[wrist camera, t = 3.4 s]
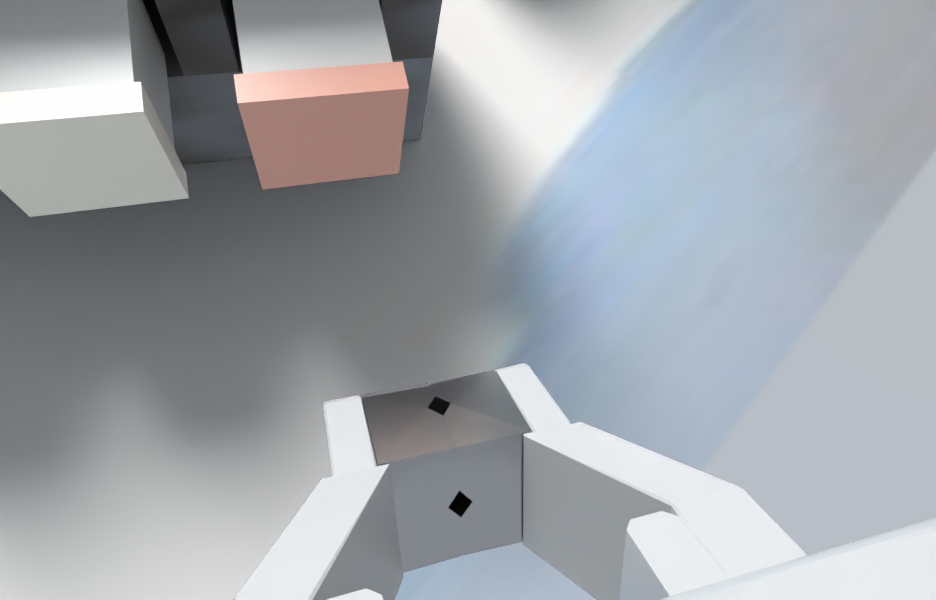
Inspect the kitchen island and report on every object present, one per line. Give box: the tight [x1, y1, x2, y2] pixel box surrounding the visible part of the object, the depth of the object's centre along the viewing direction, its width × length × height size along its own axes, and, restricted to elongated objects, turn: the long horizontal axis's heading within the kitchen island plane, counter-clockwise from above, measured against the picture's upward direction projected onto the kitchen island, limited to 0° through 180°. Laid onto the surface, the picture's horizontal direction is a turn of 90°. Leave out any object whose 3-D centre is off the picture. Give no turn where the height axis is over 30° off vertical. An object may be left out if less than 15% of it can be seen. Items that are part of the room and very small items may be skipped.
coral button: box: [232, 0, 409, 190], centre depth 17 cm, size 4×5×4 cm
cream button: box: [0, 0, 189, 217], centre depth 16 cm, size 4×5×4 cm
